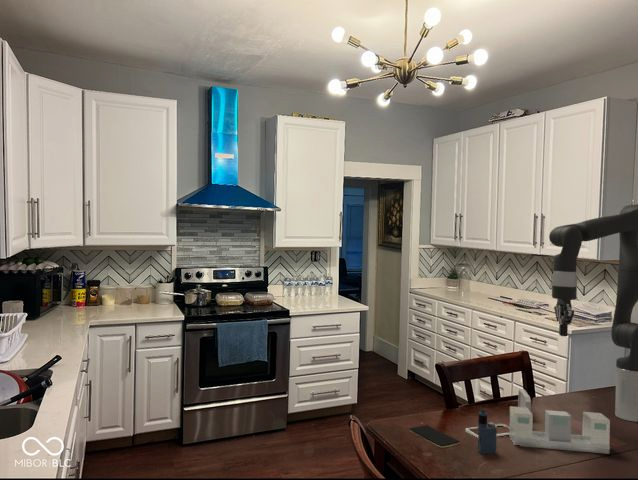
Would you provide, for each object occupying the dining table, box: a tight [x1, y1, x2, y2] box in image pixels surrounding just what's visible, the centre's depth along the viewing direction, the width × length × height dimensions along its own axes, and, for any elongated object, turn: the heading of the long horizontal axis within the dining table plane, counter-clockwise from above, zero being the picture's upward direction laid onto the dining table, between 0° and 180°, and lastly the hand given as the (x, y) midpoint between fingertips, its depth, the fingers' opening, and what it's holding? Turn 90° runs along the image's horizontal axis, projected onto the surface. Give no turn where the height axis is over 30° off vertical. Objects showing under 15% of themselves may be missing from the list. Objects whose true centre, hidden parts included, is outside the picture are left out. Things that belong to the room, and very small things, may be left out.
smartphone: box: [409, 424, 461, 449], centre depth 149 cm, size 7×1×15 cm
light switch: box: [517, 388, 532, 413], centre depth 172 cm, size 2×12×8 cm, turn 169°
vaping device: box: [477, 408, 498, 455], centre depth 139 cm, size 3×5×12 cm, turn 95°
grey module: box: [544, 409, 572, 442], centre depth 145 cm, size 6×4×8 cm
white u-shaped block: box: [508, 405, 611, 455], centre depth 146 cm, size 26×7×10 cm, turn 81°
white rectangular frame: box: [465, 423, 510, 439], centre depth 154 cm, size 7×1×15 cm
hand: (563, 335), depth 166 cm, fingers closed
